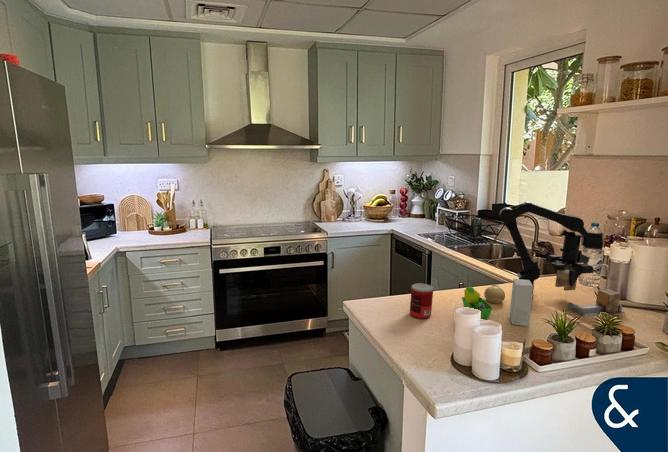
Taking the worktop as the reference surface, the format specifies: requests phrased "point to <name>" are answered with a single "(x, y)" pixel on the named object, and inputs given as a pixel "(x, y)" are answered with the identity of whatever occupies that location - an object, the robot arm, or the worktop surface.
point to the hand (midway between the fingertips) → (565, 283)
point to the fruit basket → (476, 302)
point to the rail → (585, 314)
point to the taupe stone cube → (608, 299)
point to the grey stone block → (564, 280)
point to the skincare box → (521, 302)
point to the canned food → (421, 301)
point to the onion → (494, 294)
